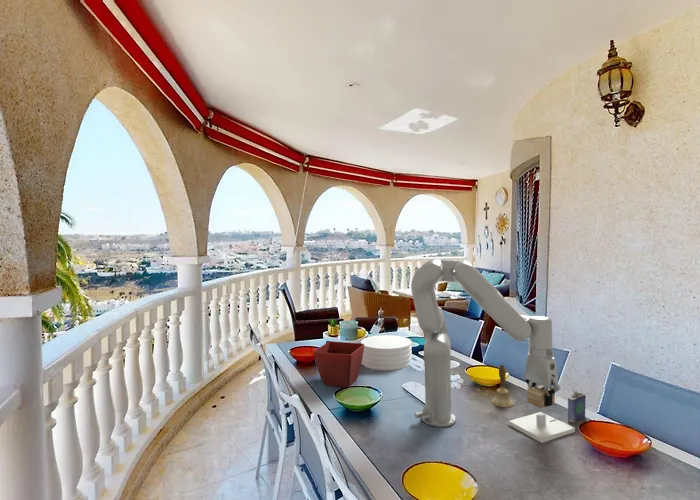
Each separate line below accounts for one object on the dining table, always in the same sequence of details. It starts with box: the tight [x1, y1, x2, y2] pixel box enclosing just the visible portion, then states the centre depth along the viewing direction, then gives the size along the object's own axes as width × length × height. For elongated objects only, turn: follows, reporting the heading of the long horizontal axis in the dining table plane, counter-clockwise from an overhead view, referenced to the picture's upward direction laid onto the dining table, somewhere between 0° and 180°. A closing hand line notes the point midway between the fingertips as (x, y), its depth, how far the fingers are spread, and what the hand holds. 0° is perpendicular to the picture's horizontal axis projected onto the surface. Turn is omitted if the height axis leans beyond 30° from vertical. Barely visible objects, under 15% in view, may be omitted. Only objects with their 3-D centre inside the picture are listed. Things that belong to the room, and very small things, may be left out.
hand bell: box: [491, 364, 515, 408], centre depth 162 cm, size 8×8×16 cm
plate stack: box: [360, 334, 413, 371], centre depth 219 cm, size 28×28×12 cm
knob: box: [526, 385, 556, 409], centre depth 140 cm, size 7×5×6 cm
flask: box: [567, 389, 586, 424], centre depth 146 cm, size 9×3×11 cm, turn 121°
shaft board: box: [508, 411, 576, 444], centre depth 140 cm, size 16×14×5 cm
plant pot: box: [313, 340, 364, 388], centre depth 190 cm, size 19×19×17 cm
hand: (540, 401), depth 140 cm, fingers closed on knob, 5 cm apart
